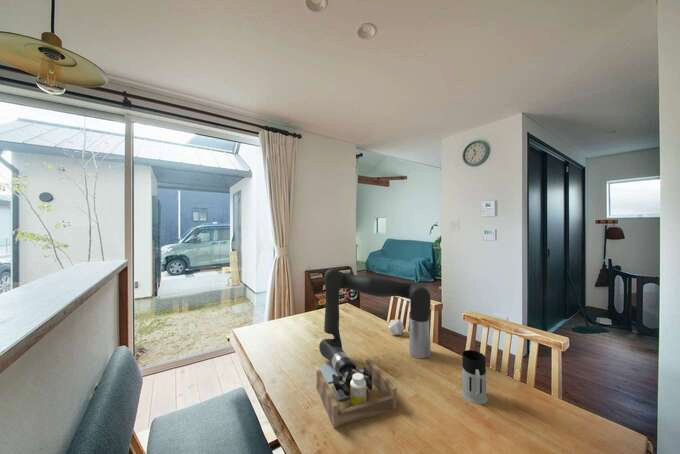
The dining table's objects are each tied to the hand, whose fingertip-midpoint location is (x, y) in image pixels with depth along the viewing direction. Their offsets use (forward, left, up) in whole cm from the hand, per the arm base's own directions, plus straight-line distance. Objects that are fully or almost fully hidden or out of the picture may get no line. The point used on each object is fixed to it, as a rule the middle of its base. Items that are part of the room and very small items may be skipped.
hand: (360, 390), depth 87 cm
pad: (+11, -20, -6) cm, 23 cm away
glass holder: (-40, -9, -6) cm, 42 cm away
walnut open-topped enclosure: (+3, -5, -6) cm, 8 cm away
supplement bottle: (+1, -1, -6) cm, 7 cm away
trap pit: (+5, -8, -6) cm, 11 cm away
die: (-15, -59, -6) cm, 62 cm away
